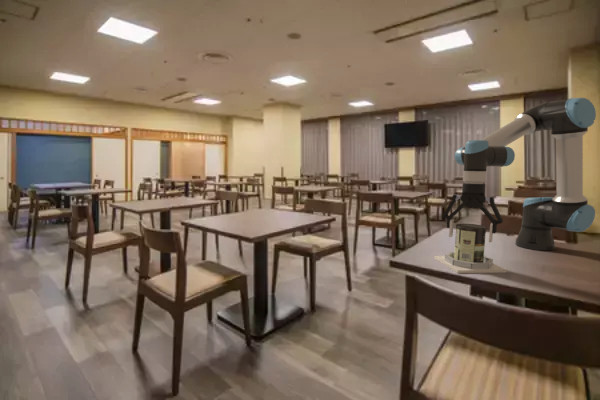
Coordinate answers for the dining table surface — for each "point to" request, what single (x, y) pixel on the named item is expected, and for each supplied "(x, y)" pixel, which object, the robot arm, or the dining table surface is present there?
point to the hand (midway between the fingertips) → (470, 239)
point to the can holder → (469, 265)
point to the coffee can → (470, 242)
